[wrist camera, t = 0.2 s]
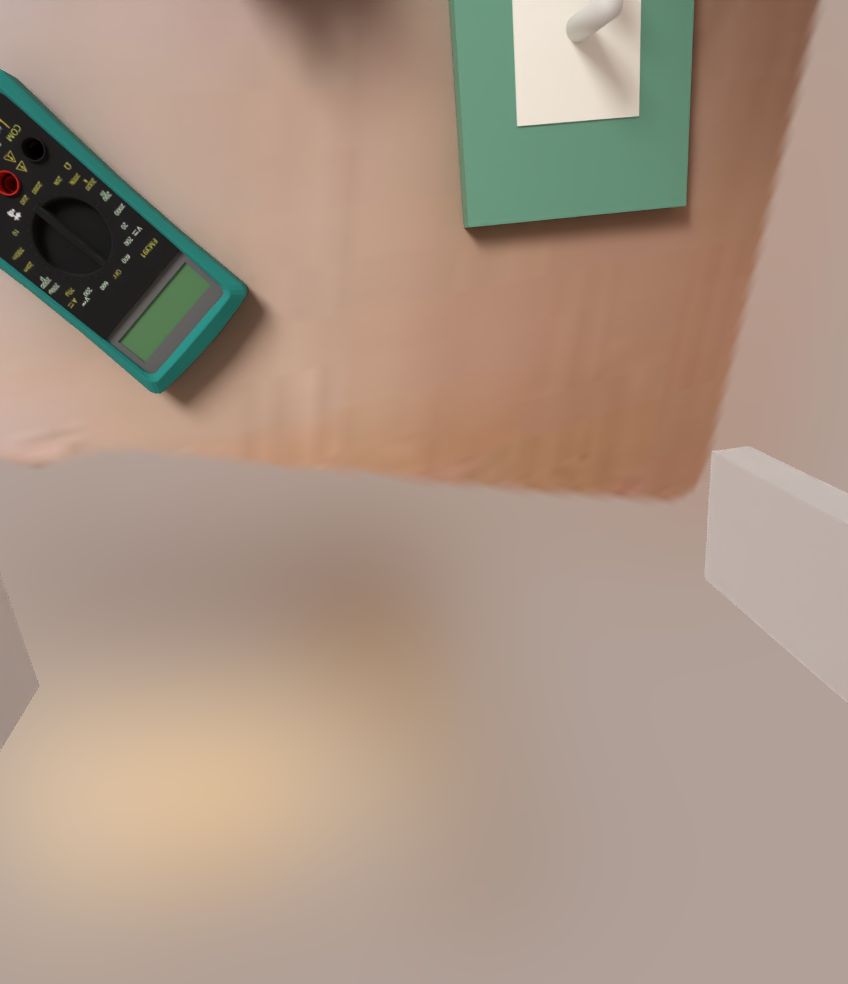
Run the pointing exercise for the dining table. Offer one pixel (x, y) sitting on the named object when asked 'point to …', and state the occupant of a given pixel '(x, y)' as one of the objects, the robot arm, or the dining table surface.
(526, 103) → the board
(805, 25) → the dining table surface
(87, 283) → the digital multimeter
